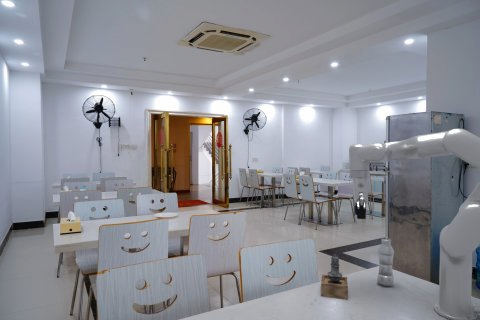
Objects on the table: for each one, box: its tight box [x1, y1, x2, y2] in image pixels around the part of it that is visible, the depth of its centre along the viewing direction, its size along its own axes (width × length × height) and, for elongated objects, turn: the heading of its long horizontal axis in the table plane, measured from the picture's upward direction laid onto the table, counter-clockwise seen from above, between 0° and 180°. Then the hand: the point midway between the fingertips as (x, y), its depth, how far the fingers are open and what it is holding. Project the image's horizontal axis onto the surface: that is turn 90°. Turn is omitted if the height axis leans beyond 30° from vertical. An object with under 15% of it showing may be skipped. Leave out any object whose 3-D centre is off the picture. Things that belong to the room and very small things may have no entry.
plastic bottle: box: [377, 237, 395, 287], centre depth 140 cm, size 6×7×20 cm
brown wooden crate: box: [320, 273, 349, 301], centre depth 132 cm, size 10×10×5 cm
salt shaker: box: [326, 253, 343, 284], centre depth 132 cm, size 6×6×12 cm
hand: (360, 216), depth 133 cm, fingers open, 9 cm apart
